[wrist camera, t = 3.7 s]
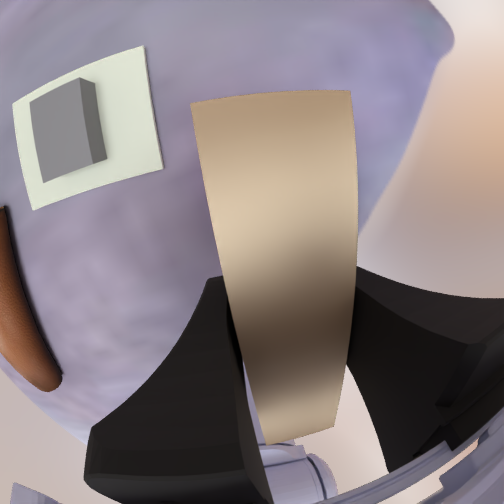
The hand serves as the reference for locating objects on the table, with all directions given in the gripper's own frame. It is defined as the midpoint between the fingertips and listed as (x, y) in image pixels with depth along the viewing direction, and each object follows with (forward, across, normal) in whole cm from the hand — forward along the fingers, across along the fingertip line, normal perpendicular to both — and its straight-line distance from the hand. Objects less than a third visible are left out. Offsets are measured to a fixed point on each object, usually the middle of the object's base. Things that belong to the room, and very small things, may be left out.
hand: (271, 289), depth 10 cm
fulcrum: (+9, +9, -8) cm, 15 cm away
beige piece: (+2, 0, 0) cm, 2 cm away
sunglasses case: (+10, +23, +3) cm, 25 cm away
